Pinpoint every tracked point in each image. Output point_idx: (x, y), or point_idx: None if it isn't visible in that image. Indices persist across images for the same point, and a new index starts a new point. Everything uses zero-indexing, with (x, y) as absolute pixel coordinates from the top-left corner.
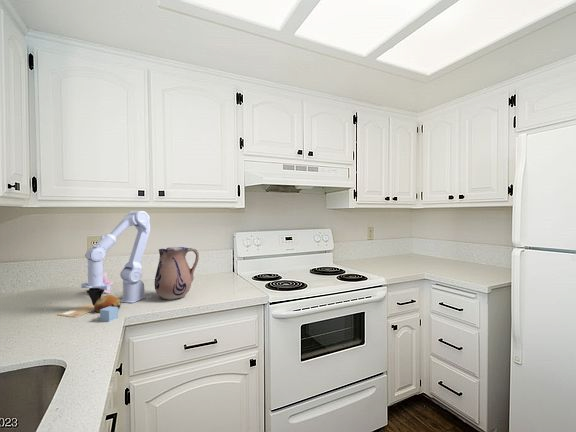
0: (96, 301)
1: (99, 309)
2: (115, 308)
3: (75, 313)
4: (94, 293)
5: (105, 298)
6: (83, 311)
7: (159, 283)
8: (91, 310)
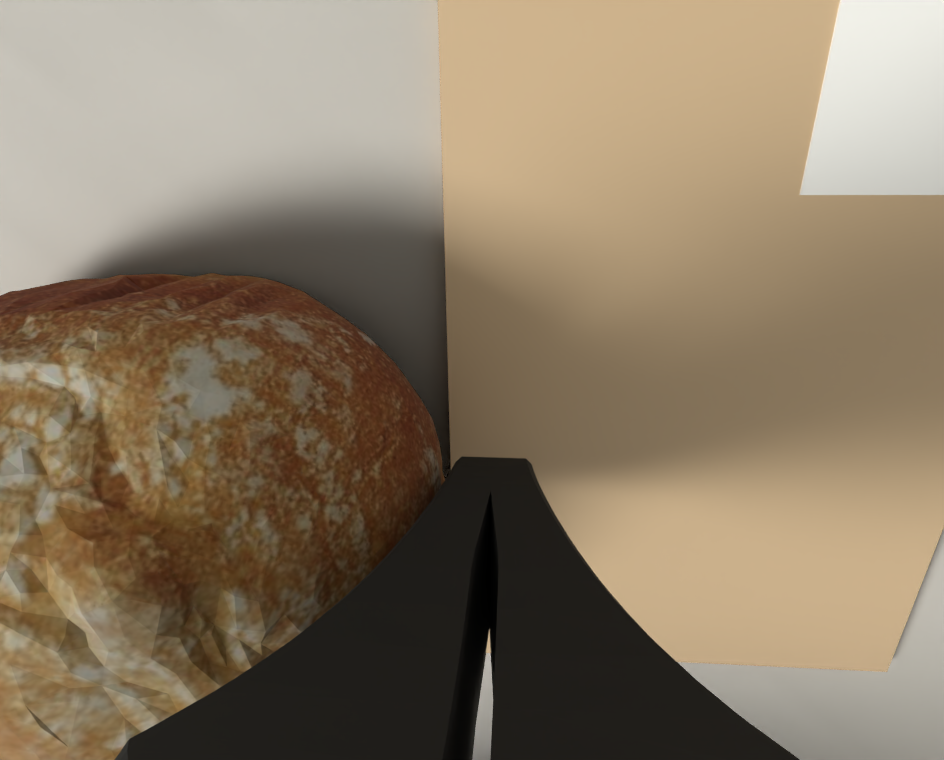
0: (280, 467)
1: (115, 279)
2: None
3: (678, 16)
4: (208, 710)
5: None
6: (593, 215)
7: None
8: (463, 322)
